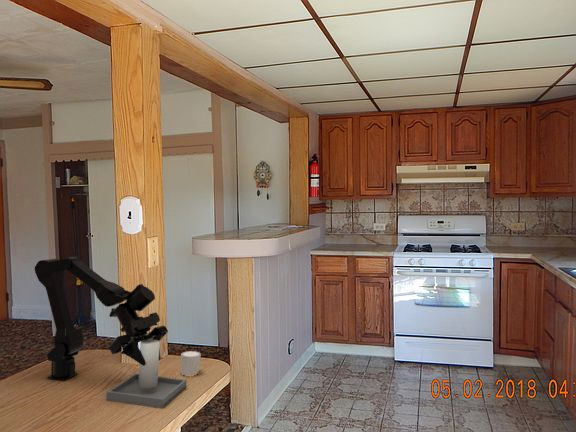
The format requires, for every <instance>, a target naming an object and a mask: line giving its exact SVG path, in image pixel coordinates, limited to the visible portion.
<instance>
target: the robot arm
mask: <svg viewBox="0 0 576 432" xmlns="http://www.w3.org/2000/svg"><path fill="white" fill-rule="evenodd" d="M65 271H68V272H69V273H70V274H71V275H73V276H74V277H76V278H77V279H78V280H79V281H80V282H82V283H83V284H85V285H86V287H88V288H89V289H91V290H92V291H93V292H94V294H95V297H96V298H97V300H98V301H99V302H100V303H101V304H102V305H103V306H105V307H107V308H108V307H112V308H111V311H110V313H109V316H108V317H110V318H116V317H117V319H118V322H119V323H120V325H121V328H120V331H121V333H125V334H123V335H118V336H116V338H115V339H114V340H113V341H112V342H111V343H110V345H109V350H110V353H111V354H112V355H116V354H119V353H120V354H121V355H125V356H127V357H129V358H131V359H132V360H134V361H135V362H137V363H138V364H139V365H140V364H141V365H143V366H144V365H145V364H146V362H145V359H144V357H143V355H142V353H141V351H140V348H139V343H141V341H144V340H158V341H159V342H161V340H162V339H163V338H164V337H165V336H166V335H167V334H168V332H169V330H168V328H167V327H166V326H165V325H160V326H158V323H160V321H161V318H160V316H159V314H158V313H157V312H152V313H150V314H149V315H147V316H144V317H143V316H139V315H138V312H142V311H143V310H144V309H145V308H147V306H150V304H151V303H152V302H154V300H156V297H155V293H154V292H153V291H152V289H150V288H148V287H147V286H145V285H144V284H143V283H140V284H138V285H136V286H135V288H134V289H133V290H132V291H129V290H126V289H125V288H124V287H123V286H121V285H119V284H117V283H115V282H112V281H109V280H107V279H105V278H103V276H101V275H100V274H98V273H97V272H95V270H93V269H92V268H90V267H89V266H88V265H87V264H85V262H83V261H81V259H80V258H79V257H77V256H70V257H65V258H62V259H58V258H49V259H42V260H39V261H37V262H36V264H35V265H34V273H35V275H36V277H37V280H38V281H39V282H40V284H42V286H43V287H44V289H45V291H46V294H47V298H48V303H49V306H50V310H51V313H52V314H51V315H52V317H53V322H54V326H55V334H54V337H53V343H54V344H53V345H54V347H53V348H52V349H51V350H50V351H49V352H48V353H47V355H46V357H47V360H48V361H49V362H51V370H50V371H51V372H50V375H48V376H47V379H50V378H51V379H52V380H56V381H57V380H58V381H67V380H68V379H70V378H72V377H74V376H77V375H78V372H76V362H75V359H76V358H75V356H77V355H78V354H79V352H80V350H82V348H83V346H84V341H85V338H84V337H83V332H82V328H80V327H79V328H77V327H75V326H74V325H73V321H72V316H71V314H70V310H69V305H68V302H67V298H66V294H65V290H64V287H63V280H64V277H65ZM115 305H116V307H115V308H113V307H114V306H115ZM152 327H154V328H153V329H152V330H151V328H152ZM150 330H151V331H150ZM149 331H150V332H149ZM160 348H161V347H159V361H160V360H161V359H162V357H161V351H160V350H161V349H160Z"/></svg>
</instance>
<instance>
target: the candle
mask: <svg viewBox="0 0 576 432" xmlns="http://www.w3.org/2000/svg"><path fill="white" fill-rule="evenodd" d="M160 342H161V341H158V340H144V341H141V342H140V348H139V349H140V351H141V353H142V355H143V357H144V359H145V362H146V364H145V365H144V366H143V365H141V364H140V363H139V369H138V374H139V386H140V387H142V388H152V387H155V386H157V384H158V376H159V364H160V363H159V361H160V360H159V348H160Z"/></svg>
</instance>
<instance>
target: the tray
mask: <svg viewBox="0 0 576 432" xmlns="http://www.w3.org/2000/svg"><path fill="white" fill-rule="evenodd" d="M185 388H186V389H187V379H182V378H181V379H180V378H173V377H166V376H159V375H158V384H157V386H155V387H152V388H142V387H140V386H139V373H134V374H132V375H130V376H129V377H127V378H126V379H124V380H123V381H121V382H120V383H118V384H117V385H115V386H113V387H112V388H110V389H109V390H107V391H106V397H105V400H106V401H108V402H109V401H110V402H116V403H123V404H130V405H135V406H136V405H137V406H143V407H151V408H159V409H163V408H165V407H166V406H167V405H168V404H169V403H171V402H172V401H173V400H174V399H175V398H177V396H179V395H180V394H181V393H182V392H183V391H185Z"/></svg>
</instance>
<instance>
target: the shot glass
mask: <svg viewBox="0 0 576 432" xmlns="http://www.w3.org/2000/svg"><path fill="white" fill-rule="evenodd" d="M201 355H202V354H201V352H199V351H195V350H189V351H183V352H182V353H181V354H180V361H181V362H180V365H181V375H182V374H183V375H192V374H195V373H197V372H198V371H200V363H201V358H202V357H201ZM198 373H199V372H198ZM183 375H182V376H183Z"/></svg>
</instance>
